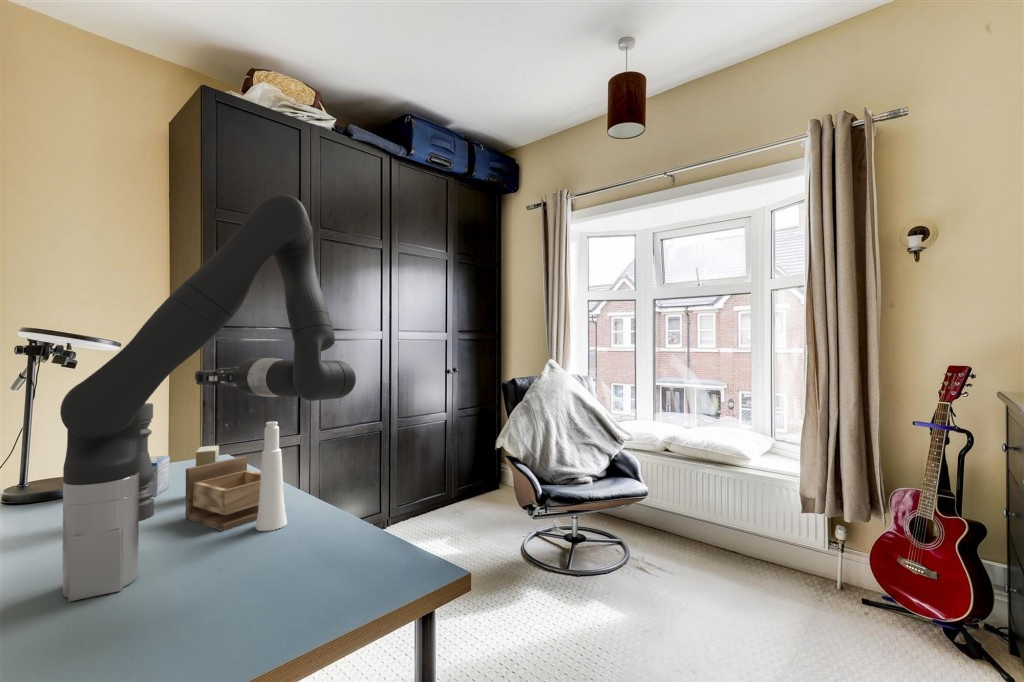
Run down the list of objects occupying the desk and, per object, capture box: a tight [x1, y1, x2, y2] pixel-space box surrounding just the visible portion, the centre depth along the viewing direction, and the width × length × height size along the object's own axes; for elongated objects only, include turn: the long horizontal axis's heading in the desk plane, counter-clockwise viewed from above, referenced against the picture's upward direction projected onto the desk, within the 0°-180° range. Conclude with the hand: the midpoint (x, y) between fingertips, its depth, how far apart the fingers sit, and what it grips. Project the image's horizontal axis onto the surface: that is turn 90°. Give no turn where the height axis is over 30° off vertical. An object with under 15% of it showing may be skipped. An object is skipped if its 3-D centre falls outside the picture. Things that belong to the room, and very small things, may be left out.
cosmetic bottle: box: [255, 421, 288, 532], centre depth 100 cm, size 6×6×22 cm
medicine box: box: [148, 455, 171, 497], centre depth 123 cm, size 8×4×9 cm, turn 17°
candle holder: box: [139, 402, 155, 522], centre depth 105 cm, size 6×6×25 cm
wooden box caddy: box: [185, 456, 261, 532], centre depth 107 cm, size 14×13×11 cm
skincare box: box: [195, 445, 220, 467], centre depth 120 cm, size 6×4×12 cm
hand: (218, 374), depth 100 cm, fingers open, 8 cm apart
